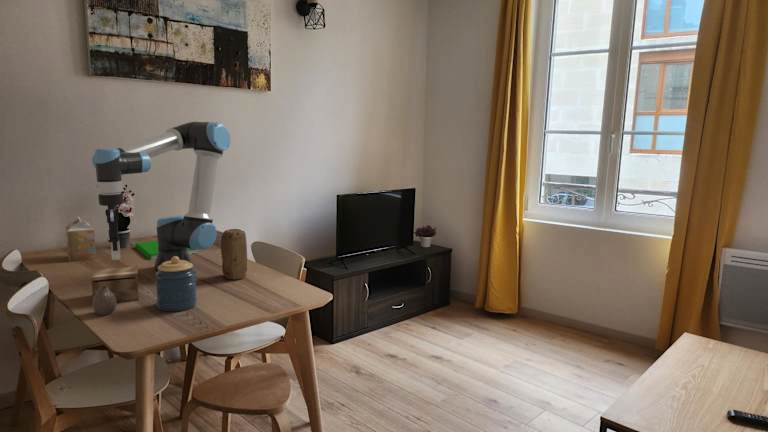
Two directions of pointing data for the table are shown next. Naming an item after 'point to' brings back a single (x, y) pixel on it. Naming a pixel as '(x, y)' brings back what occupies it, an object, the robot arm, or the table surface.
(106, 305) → the vase
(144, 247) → the book
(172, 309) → the canister
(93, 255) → the tan lidded jar
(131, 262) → the table surface
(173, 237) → the robot arm
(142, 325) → the table surface
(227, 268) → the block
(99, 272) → the lid
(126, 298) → the keepsake box
